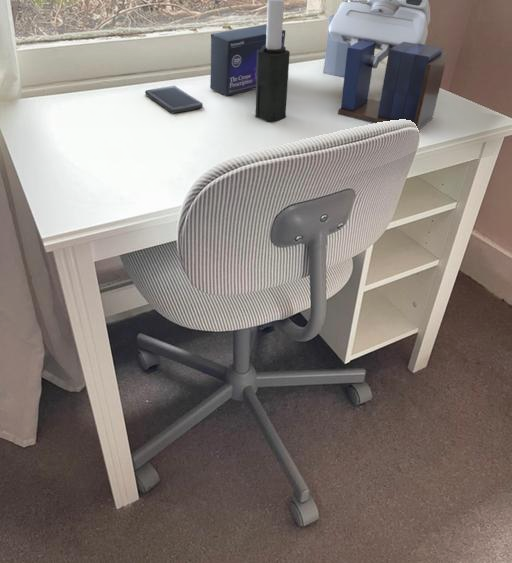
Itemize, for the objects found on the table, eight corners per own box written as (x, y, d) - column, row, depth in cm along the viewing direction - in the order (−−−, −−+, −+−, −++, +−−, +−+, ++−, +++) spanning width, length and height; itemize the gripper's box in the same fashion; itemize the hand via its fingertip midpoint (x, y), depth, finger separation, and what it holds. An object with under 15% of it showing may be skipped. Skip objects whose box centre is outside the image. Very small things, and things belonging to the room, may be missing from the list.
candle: (252, 116, 110) (256, -23, 94) (269, 110, 113) (275, -26, 97) (271, 123, 107) (277, -19, 92) (287, 116, 110) (297, -22, 94)
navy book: (367, 101, 115) (375, 42, 108) (353, 110, 111) (361, 49, 103) (354, 98, 117) (362, 40, 109) (340, 108, 112) (347, 47, 105)
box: (228, 97, 118) (228, 39, 111) (209, 89, 122) (208, 33, 114) (283, 82, 127) (286, 28, 120) (263, 75, 131) (265, 22, 124)
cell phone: (174, 88, 121) (173, 85, 121) (204, 107, 112) (204, 104, 112) (144, 93, 118) (143, 90, 117) (172, 113, 109) (172, 110, 108)
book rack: (432, 118, 112) (449, 47, 103) (415, 133, 105) (432, 58, 96) (358, 100, 119) (368, 33, 110) (337, 113, 112) (346, 42, 103)
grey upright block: (358, 69, 137) (366, 14, 129) (344, 77, 132) (352, 20, 124) (337, 65, 140) (344, 10, 132) (323, 72, 134) (329, 16, 126)
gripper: (340, -13, 112) (313, 46, 111) (435, 0, 103) (407, 64, 103) (347, 7, 118) (321, 63, 117) (437, 21, 109) (410, 82, 108)
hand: (362, 64), depth 110 cm, fingers closed on navy book, 3 cm apart
